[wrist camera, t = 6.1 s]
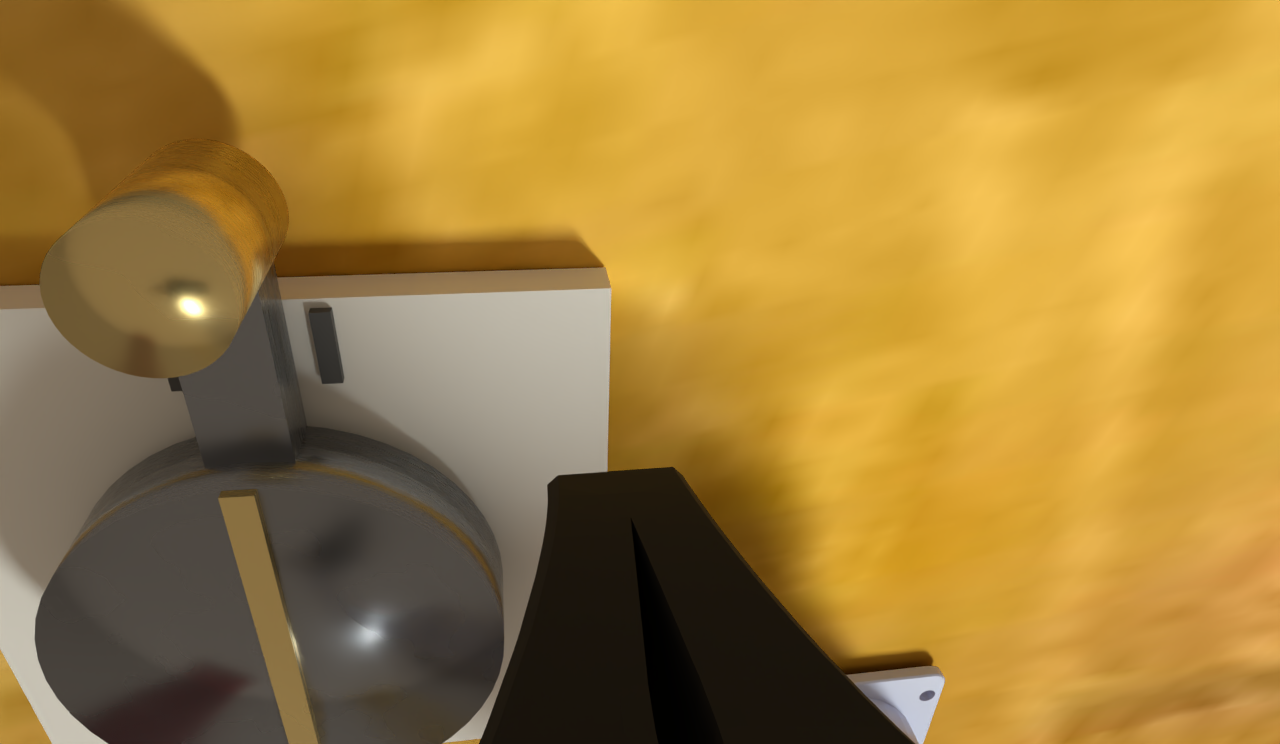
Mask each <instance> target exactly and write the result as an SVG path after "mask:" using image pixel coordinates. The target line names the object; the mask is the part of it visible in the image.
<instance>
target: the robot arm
mask: <svg viewBox="0 0 1280 744" xmlns="http://www.w3.org/2000/svg"><path fill="white" fill-rule="evenodd" d="M547 494H548V507H547V518H546V526H545V532H544V538H543V544H542V548H541V553H540V558H539V562H538V567H537V572H536V576H535V579H534V583H533V586H532V590H531V593H530V597H529V601H528V604H527V608H526V611H525V615H524V618H523V622H522V625H521V629H520V632H519V635H518V639H517V642H516V645H515V648H514V651H513V654H512V656H511V659H510V662H509V665H508V667H507V670H506V673H505V676H504V679H503V681H502V684H501V687H500V690H499V692H498V695H497V698H496V701H495V703H494V706H493V709H492V712H491V714H490V717H489V720H488V723H487V725H486V728H485V730H484V733H483V735H482V738H481V740H480V743H479V744H923V742H924V740H925V737H926V734H927V731H928V728H929V725H930V723H931V720H932V717H933V714H934V711H935V709H936V706H937V703H938V700H939V697H940V694H941V692H942V689H943V686H944V683H945V678H944V676H943V674H942V672H941V671H940V669H939V668H938V667H936V666H921V667H912V668H903V669H894V670H885V671H875V672H866V673H857V674H848V675H846V674H845V673H844V672H843V671H842V670H841V669H840V668H839V667H838V666H837V665H836V664H835V663H834V662H833V661H832V660H831V659H830V658H829V657H828V656H827V654H826V653H825V652H824V651H823V650H822V649H821V648H820V647H819V646H818V645H817V644H816V643H815V641H814V640H813V639H812V638H811V637H810V636H809V635H808V634H807V633H806V631H805V630H804V629H803V628H802V627H801V626H800V625H799V624H798V623H797V621H796V620H795V619H794V618H793V617H792V616H791V614H790V613H789V612H788V611H787V610H786V609H785V607H784V606H783V605H782V604H781V603H780V602H779V600H778V599H777V598H776V597H775V596H774V594H773V593H772V592H771V591H770V590H769V589H768V587H767V586H766V585H765V584H764V583H763V582H762V580H761V579H760V578H759V577H758V576H757V574H756V573H755V572H754V571H753V570H752V568H751V567H750V566H749V565H748V563H747V562H746V561H745V560H744V558H743V557H742V556H741V555H740V553H739V552H738V551H737V549H736V548H735V547H734V546H733V544H732V543H731V542H730V540H729V539H728V538H727V537H726V535H725V534H724V533H723V531H722V530H721V529H720V527H719V526H718V525H717V523H716V522H715V521H714V519H713V518H712V517H711V515H710V514H709V513H708V511H707V510H706V509H705V507H704V506H703V504H702V503H701V502H700V500H699V499H698V497H697V496H696V495H695V493H694V492H693V490H692V489H691V487H690V486H689V485H688V483H687V482H686V480H685V479H684V477H683V476H682V475H681V474H680V473H679V472H678V471H677V470H676V469H675V468H673V467H667V468H653V469H638V470H624V471H610V472H596V473H581V474H567V475H558V476H556V477H555V478H554V479H553V480H552V481H551V482H550V483H549V484H547Z"/></svg>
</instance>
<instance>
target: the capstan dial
mask: <svg viewBox="0 0 1280 744" xmlns="http://www.w3.org/2000/svg"><path fill="white" fill-rule="evenodd" d="M288 220H289V216H288V208H287V204H286V200H285V198H284V195H283V193H282V190H281V189H280V187H279V185H278V183H277V182H276V180H275V179H274V178H273V176H272V175H271V174H270V173H269V172H268V171H267V169H266V168H265V167H264V166H263V165H261V164H260V163H259V162H258V161H257V160H255V159H254V158H253V157H251V156H250V155H248V154H247V153H245V152H243V151H241V150H239V149H237V148H235V147H233V146H230V145H228V144H224V143H221V142H218V141H212V140H205V139H189V140H182V141H177V142H174V143H171V144H168V145H166V146H164V147H162V148H160V149H159V150H157V151H156V152H155V153H153V154H152V155H151V156H150V157H149V158H148V159H147V160H145V161H144V162H143V163H142V164H141V165H140V166H139V167H138V168H137V169H135V170H134V171H133V172H132V173H131V174H130V175H129V176H128V177H127V178H126V179H124V180H123V181H122V182H121V183H120V184H119V185H118V186H117V187H116V188H114V189H113V190H112V191H111V192H110V193H109V194H108V195H107V196H106V197H105V198H103V199H102V200H101V201H100V202H99V203H98V204H97V205H96V206H95V207H93V208H92V209H91V210H90V211H89V212H88V213H87V214H86V215H85V216H84V217H82V218H81V219H80V220H79V221H78V222H77V223H76V224H75V225H74V226H73V227H71V228H70V229H69V230H68V231H67V232H66V233H65V234H64V235H63V236H61V237H60V238H59V239H58V240H57V241H56V242H55V243H54V244H53V245H52V247H51V248H50V250H49V251H48V253H47V254H46V256H45V259H44V261H43V263H42V267H41V272H40V292H41V297H42V301H43V304H44V307H45V309H46V311H47V313H48V316H49V317H50V319H51V321H52V322H53V324H54V325H55V327H56V328H57V329H58V331H59V332H60V333H61V334H62V336H63V337H64V338H65V339H66V340H67V341H68V342H69V343H70V344H71V345H73V346H74V347H75V348H76V349H78V350H79V351H80V352H81V353H83V354H84V355H86V356H88V357H89V358H91V359H92V360H94V361H96V362H98V363H100V364H102V365H103V366H106V367H108V368H111V369H113V370H116V371H119V372H122V373H125V374H129V375H134V376H139V377H146V378H173V377H179V381H180V384H181V388H182V391H183V394H184V398H185V401H186V405H187V408H188V412H189V415H190V418H191V422H192V425H193V429H194V432H195V436H196V437H194V438H191V439H188V440H185V441H182V442H179V443H176V444H174V445H172V446H170V447H167V448H165V449H163V450H161V451H159V452H157V453H155V454H153V455H151V456H149V457H147V458H146V459H144V460H143V461H141V462H140V463H138V464H137V465H135V466H134V467H132V468H131V469H129V470H128V471H127V472H126V473H124V474H123V475H122V476H121V477H120V478H119V479H118V480H117V481H115V482H114V483H113V484H112V485H111V486H110V487H109V488H108V489H107V491H106V492H105V493H104V494H103V496H102V497H101V498H100V500H99V501H98V502H97V503H96V505H95V506H94V508H93V509H92V511H91V513H90V514H89V516H88V518H87V519H86V521H85V523H84V524H83V526H82V528H81V529H80V531H79V533H78V534H77V536H76V538H75V539H74V541H73V543H72V544H71V546H70V548H69V549H68V551H67V553H66V554H65V556H64V558H63V559H62V561H61V563H60V564H59V566H58V568H57V569H56V571H55V573H54V574H53V576H52V578H51V580H50V582H49V584H48V586H47V587H46V589H45V591H44V593H43V595H42V597H41V600H40V604H39V607H38V611H37V615H36V618H35V638H34V640H35V646H36V651H37V657H38V661H39V664H40V667H41V669H42V672H43V674H44V677H45V679H46V681H47V683H48V684H49V686H50V688H51V689H52V691H53V692H54V694H55V696H56V697H57V699H58V700H59V701H60V702H61V703H62V705H63V706H64V707H65V708H66V709H67V710H68V711H69V713H70V714H71V715H72V716H73V717H74V718H75V719H76V720H78V721H79V722H80V723H81V724H82V725H83V726H85V727H86V728H87V729H88V730H89V731H90V732H92V733H93V734H95V735H96V736H98V737H99V738H101V739H102V740H103V741H105V742H106V743H108V744H442V743H443V742H445V741H446V740H448V739H449V738H451V737H452V736H453V735H455V734H456V733H457V732H458V731H459V730H460V729H461V728H463V727H464V726H465V725H466V724H467V723H468V722H469V721H470V720H471V719H472V718H473V717H474V716H475V714H476V713H477V712H478V711H479V710H480V709H481V708H482V706H483V705H484V703H485V701H486V700H487V698H488V697H489V695H490V694H491V692H492V690H493V688H494V686H495V683H496V681H497V679H498V676H499V674H500V670H501V665H502V661H503V657H504V602H503V569H502V562H501V555H500V551H499V548H498V545H497V542H496V539H495V536H494V534H493V532H492V530H491V528H490V526H489V524H488V522H487V521H486V519H485V517H484V515H483V514H482V513H481V512H480V510H479V509H478V508H477V506H476V505H475V504H474V502H473V501H472V500H471V499H470V498H469V497H468V496H467V495H466V494H465V493H464V492H463V491H462V490H461V489H460V488H459V487H458V486H457V485H456V484H455V483H454V482H453V481H451V480H450V479H449V478H447V477H446V476H445V475H443V474H442V473H441V472H439V471H438V470H437V469H435V468H434V467H432V466H430V465H429V464H427V463H425V462H423V461H422V460H420V459H418V458H416V457H415V456H413V455H411V454H409V453H407V452H404V451H402V450H400V449H398V448H395V447H393V446H391V445H388V444H386V443H383V442H380V441H377V440H374V439H370V438H367V437H364V436H361V435H358V434H353V433H348V432H343V431H338V430H333V429H329V428H321V427H311V426H307V423H306V418H305V413H304V408H303V403H302V398H301V393H300V388H299V383H298V378H297V374H296V369H295V364H294V359H293V354H292V349H291V344H290V339H289V334H288V329H287V324H286V319H285V314H284V309H283V304H282V299H281V295H280V290H279V285H278V280H277V275H276V270H275V265H274V259H275V257H276V256H277V254H278V252H279V250H280V248H281V246H282V244H283V242H284V240H285V237H286V234H287V230H288Z"/></svg>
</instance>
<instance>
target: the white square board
mask: <svg viewBox="0 0 1280 744" xmlns="http://www.w3.org/2000/svg"><path fill="white" fill-rule="evenodd" d="M277 280H278V285H279V290H280V295H281V299H282V304H283V309H284V314H285V319H286V324H287V329H288V334H289V339H290V344H291V349H292V354H293V359H294V364H295V369H296V374H297V378H298V383H299V388H300V393H301V398H302V403H303V408H304V413H305V418H306V423H307V426H311V427H321V428H329V429H333V430H338V431H343V432H348V433H353V434H358V435H361V436H364V437H367V438H370V439H374V440H377V441H380V442H383V443H386V444H388V445H391V446H393V447H395V448H398V449H400V450H402V451H404V452H407V453H409V454H411V455H413V456H415V457H416V458H418V459H420V460H422V461H423V462H425V463H427V464H429V465H430V466H432V467H434V468H435V469H437V470H438V471H439V472H441V473H442V474H443V475H445V476H446V477H447V478H449V479H450V480H451V481H453V482H454V483H455V484H456V485H457V486H458V487H459V488H460V489H461V490H462V491H463V492H464V493H465V494H466V495H467V496H468V497H469V498H470V499H471V500H472V501H473V502H474V504H475V505H476V506H477V508H478V509H479V510H480V512H481V513H482V514H483V515H484V517H485V519H486V521H487V522H488V524H489V526H490V528H491V530H492V532H493V534H494V536H495V539H496V542H497V545H498V548H499V551H500V555H501V562H502V569H503V602H504V657H503V661H502V665H501V670H500V674H499V676H498V679H497V681H496V683H495V686H494V688H493V690H492V692H491V694H490V695H489V697H488V698H487V700H486V701H485V703H484V705H483V706H482V708H481V709H480V710H479V711H478V712H477V713H476V714H475V716H474V717H473V718H472V719H471V720H470V721H469V722H468V723H467V724H466V725H465V726H464V727H463V728H461V729H460V730H459V731H458V732H457V733H456V734H455V735H453V736H452V737H451V738H449V739H448V740H446V741H445V742H454V741H463V740H471V739H480V738H482V735H483V733H484V730H485V728H486V725H487V723H488V720H489V717H490V714H491V712H492V709H493V706H494V703H495V701H496V698H497V695H498V692H499V690H500V687H501V684H502V681H503V679H504V676H505V673H506V670H507V667H508V665H509V662H510V659H511V656H512V654H513V651H514V648H515V645H516V642H517V639H518V635H519V632H520V629H521V625H522V622H523V618H524V615H525V611H526V608H527V604H528V601H529V597H530V593H531V590H532V586H533V583H534V579H535V576H536V572H537V567H538V562H539V558H540V553H541V548H542V544H543V538H544V532H545V526H546V518H547V507H548V494H547V484H549V483H550V482H551V481H552V480H553V479H554V478H555V477H556V476H558V475H567V474H581V473H596V472H607V463H608V416H609V370H610V324H611V286H610V282H609V279H608V275H607V272H606V268H605V267H601V268H569V269H536V270H504V271H471V272H439V273H406V274H374V275H341V276H309V277H277ZM194 437H196V436H195V432H194V429H193V425H192V422H191V418H190V415H189V412H188V408H187V405H186V401H185V398H184V394H183V391H182V388H181V384H180V381H179V377H173V378H146V377H139V376H134V375H129V374H125V373H122V372H119V371H116V370H113V369H111V368H108V367H106V366H103V365H102V364H100V363H98V362H96V361H94V360H92V359H91V358H89V357H88V356H86V355H84V354H83V353H81V352H80V351H79V350H78V349H76V348H75V347H74V346H73V345H71V344H70V343H69V342H68V341H67V340H66V339H65V338H64V337H63V336H62V334H61V333H60V332H59V331H58V329H57V328H56V327H55V325H54V324H53V322H52V321H51V319H50V317H49V316H48V313H47V311H46V309H45V307H44V304H43V301H42V297H41V292H40V285H16V286H0V649H1V651H2V653H3V655H4V656H5V658H6V660H7V662H8V664H9V666H10V667H11V669H12V671H13V673H14V675H15V677H16V678H17V680H18V682H19V684H20V686H21V688H22V689H23V691H24V693H25V695H26V697H27V698H28V700H29V702H30V704H31V706H32V708H33V709H34V711H35V713H36V715H37V717H38V719H39V720H40V722H41V724H42V726H43V728H44V730H45V731H46V733H47V735H48V737H49V739H50V740H51V742H52V744H108V743H106V742H105V741H103V740H102V739H101V738H99V737H98V736H96V735H95V734H93V733H92V732H90V731H89V730H88V729H87V728H86V727H85V726H83V725H82V724H81V723H80V722H79V721H78V720H76V719H75V718H74V717H73V716H72V715H71V714H70V713H69V711H68V710H67V709H66V708H65V707H64V706H63V705H62V703H61V702H60V701H59V700H58V699H57V697H56V696H55V694H54V692H53V691H52V689H51V688H50V686H49V684H48V683H47V681H46V679H45V677H44V674H43V672H42V669H41V667H40V664H39V661H38V657H37V651H36V646H35V640H34V638H35V618H36V615H37V611H38V607H39V604H40V600H41V597H42V595H43V593H44V591H45V589H46V587H47V586H48V584H49V582H50V580H51V578H52V576H53V574H54V573H55V571H56V569H57V568H58V566H59V564H60V563H61V561H62V559H63V558H64V556H65V554H66V553H67V551H68V549H69V548H70V546H71V544H72V543H73V541H74V539H75V538H76V536H77V534H78V533H79V531H80V529H81V528H82V526H83V524H84V523H85V521H86V519H87V518H88V516H89V514H90V513H91V511H92V509H93V508H94V506H95V505H96V503H97V502H98V501H99V500H100V498H101V497H102V496H103V494H104V493H105V492H106V491H107V489H108V488H109V487H110V486H111V485H112V484H113V483H114V482H115V481H117V480H118V479H119V478H120V477H121V476H122V475H123V474H124V473H126V472H127V471H128V470H129V469H131V468H132V467H134V466H135V465H137V464H138V463H140V462H141V461H143V460H144V459H146V458H147V457H149V456H151V455H153V454H155V453H157V452H159V451H161V450H163V449H165V448H167V447H170V446H172V445H174V444H176V443H179V442H182V441H185V440H188V439H191V438H194ZM445 742H443V743H445Z"/></svg>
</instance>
